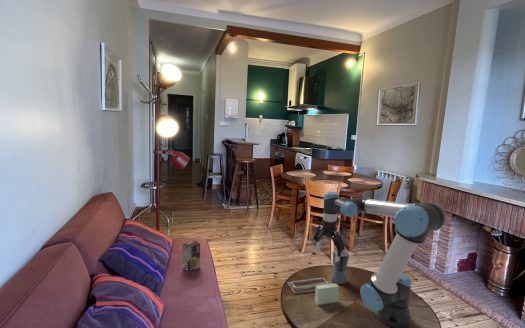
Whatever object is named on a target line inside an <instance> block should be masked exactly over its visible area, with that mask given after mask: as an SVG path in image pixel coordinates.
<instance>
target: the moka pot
mask: <svg viewBox="0 0 525 328" xmlns="http://www.w3.org/2000/svg"><path fill="white" fill-rule="evenodd" d="M336 250H337V249H336ZM336 250H335V249H334V250H333V252H332V260H333V261H332V263H333V268H332V269H333V270H332V274H331V278H330V279H331V281H332V282H334V283H336V284H337V285H345V284H346V283H347V266H348V263H349V259H350V258H349V257H350V253H348V252H347V251H345V250H343V251H341V256H340V259H339V261H338V262H335V256H336Z"/></svg>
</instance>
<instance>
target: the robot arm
mask: <svg viewBox="0 0 525 328" xmlns="http://www.w3.org/2000/svg"><path fill="white" fill-rule="evenodd" d="M322 208H323V212H322V224H320V225H318V226H317V229H316V231H315V234H314V235H313V237H312V240H314V241H315V254H318V253H321V240H322V239H323V238H324V237H328V238H330V239H331V240H332V243H333V245H334V247H335V248H336V256H335V262H338V261H339V259H340V256H341V251H345V250H346V247H345V245H344V242H343V239H342V236H341V235H342V233H341V231H337V230H336V229H337V223H338V221H337V218H338V214H340V215H342V216H345V217H349V218H352V217H355V216H356V214H358V213H365V214H370V215H371V214H372V215H377V216H383V217H388V218H394V219H393V220H394V222H393V223H394V224H395V225H394V226H395V227H394V231H395V233H396V235H395V236H394V238H393V240H392V243H391V245H390V246H389V249H388V250H387V253H386V255H385V256H384V258H383V260H382V262H381V265H380V266H379V268H378V271H377V272H373V274H372V275H371V277H370V278H369V281H368V282H367V283H364V284H363V285H362V286H361V287H360V290H359V292H360V293H359V294H360V297H361V300H362V301H363V303H364V305H365V306H366V307H367V308H368V309H369V310H371V311H374V312H376V316H377V318H378V320H380V322H382V323H383V324H385V325H386V326H388V327H391V328H410V326H411V324H412V318H411V314H410V309H409V306H410V305H409V303H410V296H411V289H412V279H411V278H410V277H409V276H408V275H407V274H405V273H404V270H405V269H406V266H407V265H408V263H409V261H410V259H411V257H412V256H413V254H414V253H415V250H416V248H417V246H418V245H422V244H424V243H425V240H426V239H427V238H428V236H429V234H430V233H432V232H435V231H438V230H440V229H441V228H442V227H443V226H444V225H445V224H446V213H445V211H444V209H443V208H442V207H441V206H439V205H438V204H436V203H433V202H419V201H417V202H415V203H407V202H398V201H391V200H382V199H373V198H370V197H365V196H364V197H358V198H351V199H350V198H349V199H344V198H340V196H339V193H338V192H334V191H326V192H324V196H323V207H322Z"/></svg>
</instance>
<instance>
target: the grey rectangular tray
mask: <svg viewBox="0 0 525 328" xmlns="http://www.w3.org/2000/svg"><path fill="white" fill-rule="evenodd" d="M326 284H331V283H329V281H328V280H327V279H326V278H325V277H315V278H308V279H300V280H299V279H298V280H291V281H286V285H287V286H288V288H290V290H291V291H292V293H293V294H294V295H298V294H306V293H315V290H316V286H319V285H326Z"/></svg>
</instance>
